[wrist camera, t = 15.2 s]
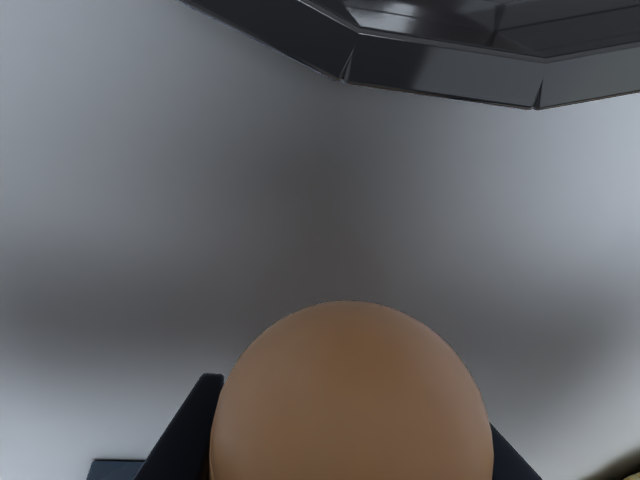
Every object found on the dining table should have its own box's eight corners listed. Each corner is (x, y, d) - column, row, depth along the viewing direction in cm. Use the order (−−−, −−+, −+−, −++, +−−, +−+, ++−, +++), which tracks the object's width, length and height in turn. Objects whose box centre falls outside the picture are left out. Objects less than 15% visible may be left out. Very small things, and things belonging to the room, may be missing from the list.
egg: (216, 455, 11) (186, 705, 8) (230, 236, 8) (188, 501, 4) (391, 460, 12) (438, 693, 8) (475, 259, 9) (620, 507, 5)
